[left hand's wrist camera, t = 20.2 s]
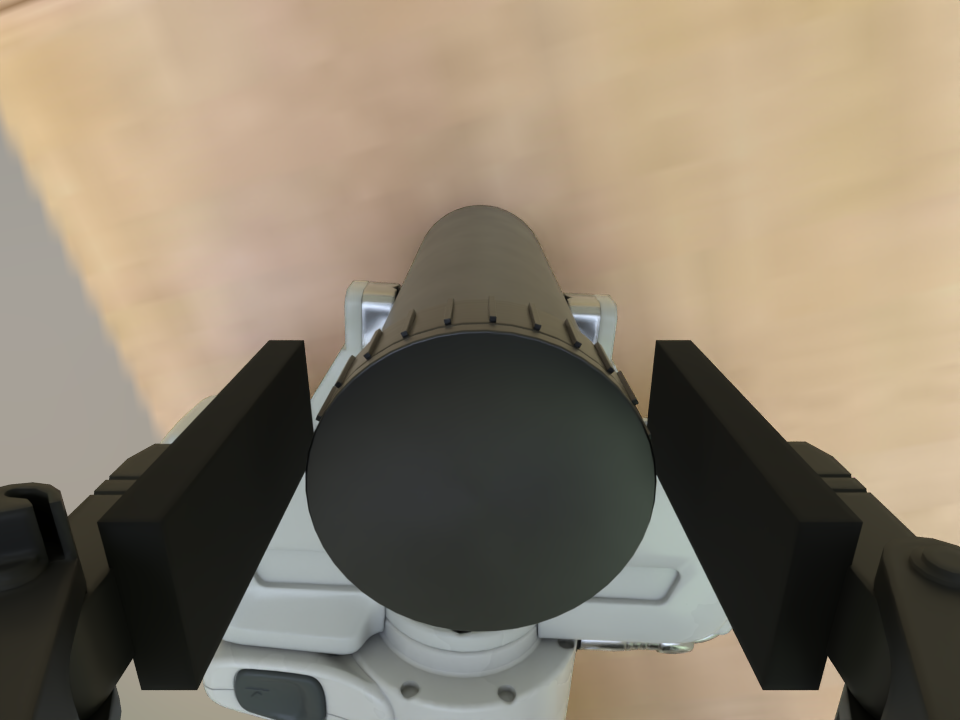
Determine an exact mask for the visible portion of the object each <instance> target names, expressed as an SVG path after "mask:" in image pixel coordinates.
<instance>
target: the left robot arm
mask: <svg viewBox="0 0 960 720" xmlns="http://www.w3.org/2000/svg"><path fill="white" fill-rule="evenodd" d="M647 428H648V430H649V432H650V434H651V437H652V439H651V444H652V449H653V453H654V457H655V464H656V475H657V477H658V479H659V481H660V483H661V485H662V487H663V489H664V491H665V493H666V495H667V497H668V499H669V501H670V503H671V505H672V507H673V509H674V511H675V514H676V516H677V518H678V520H679V522H680V524H681V526H682V528H683V530H684V532H685V534H686V536H687V538H688V540H689V542H690V544H691V546H692V548H693V550H694V552H695V554H696V556H697V558H698V560H699V562H700V564H701V566H702V568H703V570H704V572H705V574H706V576H707V578H708V580H709V582H710V584H711V586H712V588H713V590H714V592H715V594H716V596H717V598H718V600H719V602H720V605H721V607H722V609H723V611H724V613H725V615H726V617H727V619H728V621H729V623H730V625H731V627H732V629H733V631H734V633H735V635H736V637H737V639H738V641H739V643H740V645H741V647H742V649H743V651H744V653H745V655H746V657H747V659H748V661H749V663H750V665H751V667H752V669H753V671H754V673H755V675H756V677H757V679H758V681H759V683H760V685H761V687H762V689H763V690H819V686H820V682H821V679H822V675H823V671H824V667H825V664H826V660H827V656H828V657H829V659H830V660H831V662H832V663H833V665H834V666H835V668H836V669H837V671H838V673H839V674H840V676H841V677H842V679H843V680H844V682H845V685H844V688H843V692H842V695H841V699H840V702H839V706H838V709H837V713H836V716H835V720H960V547H959V546H957V545H954V544H950V543H947V542H943V541H940V540H936V539H933V538H924V537H916V536H915V535H914V534H913V533H912V532H911V531H910V530H909V529H908V528H907V527H906V526H905V525H904V524H903V523H902V522H901V521H899V520H898V519H897V518H896V517H895V516H894V515H893V514H892V513H891V512H890V511H889V510H888V509H887V508H886V507H885V506H884V505H883V504H882V503H881V502H880V501H879V500H878V499H877V498H876V497H874V496H873V495H872V494H871V493H867V491H866V488H865V487H864V486H863V485H862V484H861V483H860V482H859V481H858V480H857V479H856V478H851V474H850V473H849V472H848V471H847V470H846V469H845V468H844V467H843V466H842V465H841V464H840V463H839V462H838V461H837V460H836V459H835V458H834V457H833V456H831V455H829V454H827V453H825V452H823V451H822V450H820V449H818V448H816V447H814V446H812V445H811V444H809V443H807V442H787V441H786V440H785V439H784V438H783V437H782V436H781V435H780V434H779V433H778V432H777V431H776V430H775V429H774V428H773V427H772V425H771V424H770V423H769V422H768V421H767V420H766V419H765V418H764V417H763V416H762V415H761V414H760V413H759V412H758V411H757V410H756V409H755V408H754V407H753V405H752V404H751V403H750V402H749V401H748V400H747V399H746V398H745V397H744V396H743V395H742V394H741V393H740V392H739V391H738V390H737V389H736V388H735V386H734V385H733V384H732V383H731V382H730V381H729V380H728V379H727V378H726V377H725V376H724V375H723V374H722V373H721V372H720V371H719V370H718V369H717V368H716V366H715V365H714V364H713V363H712V362H711V361H710V360H709V359H708V358H707V357H706V356H705V355H704V354H703V353H702V352H701V351H700V350H699V349H698V347H697V346H696V345H695V344H694V343H693V342H692V341H691V340H656V346H655V355H654V364H653V373H652V383H651V392H650V401H649V410H648V420H647ZM313 434H314V429H313V420H312V410H311V401H310V392H309V383H308V373H307V364H306V355H305V346H304V340H269V341H268V342H267V343H266V344H265V345H264V346H263V347H262V349H261V350H260V351H259V352H258V353H257V354H256V355H255V356H254V357H253V358H252V359H251V360H250V361H249V362H248V363H247V364H246V365H245V366H244V368H243V369H242V370H241V371H240V372H239V373H238V374H237V375H236V376H235V377H234V378H233V379H232V380H231V381H230V382H229V383H228V384H227V385H226V386H225V388H224V389H223V390H222V391H221V392H220V393H219V394H218V395H217V396H216V397H215V398H214V399H213V400H212V401H211V402H210V403H209V404H208V405H207V407H206V408H205V409H204V410H203V411H202V412H201V413H200V414H199V415H198V416H197V417H196V418H195V419H194V420H193V421H192V422H191V423H190V424H189V425H188V427H187V428H186V429H185V430H184V431H183V432H182V433H181V434H180V435H179V436H178V437H177V438H176V439H175V440H174V441H173V442H172V443H171V444H154V445H152V446H150V447H148V448H146V449H145V450H143V451H141V452H139V453H137V454H135V455H134V456H132V457H130V458H128V459H127V460H126V461H125V462H124V463H123V464H122V465H121V466H120V467H119V468H118V469H117V470H116V471H114V472H113V473H112V474H111V475H110V476H109V477H110V478H109V480H105V481H104V482H103V483H102V484H101V485H100V486H99V487H98V488H97V489H96V490H95V491H94V495H90V496H89V497H88V498H87V499H86V500H85V501H83V502H82V503H81V504H80V505H79V506H78V507H77V508H76V509H75V510H74V511H73V512H72V513H71V514H70V515H69V516H67V513H66V509H65V506H64V502H63V499H62V495H61V492H60V490H58V489H56V488H55V487H53V486H52V485H49V484H41V483H33V482H32V483H22V484H11V485H7V486H3V487H0V720H120V718H121V706H120V699H119V695H118V692H117V688H116V684H117V682H118V681H119V679H120V678H121V676H122V674H123V673H124V671H125V670H126V668H127V667H128V665H129V664H130V662H131V660H132V659H133V660H134V664H135V667H136V671H137V675H138V679H139V682H140V686H141V690H197V689H198V687H199V685H200V683H201V681H202V679H203V677H204V675H205V673H206V671H207V669H208V667H209V665H210V663H211V661H212V659H213V657H214V655H215V653H216V651H217V649H218V647H219V645H220V643H221V641H222V639H223V637H224V635H225V633H226V631H227V629H228V627H229V625H230V623H231V621H232V619H233V617H234V615H235V613H236V611H237V609H238V607H239V605H240V602H241V600H242V598H243V596H244V594H245V592H246V590H247V588H248V586H249V584H250V582H251V580H252V578H253V576H254V574H255V572H256V570H257V568H258V566H259V564H260V562H261V560H262V558H263V556H264V554H265V552H266V550H267V548H268V546H269V544H270V542H271V540H272V538H273V536H274V534H275V532H276V530H277V528H278V526H279V524H280V522H281V520H282V518H283V516H284V514H285V511H286V509H287V507H288V505H289V503H290V501H291V499H292V497H293V495H294V493H295V491H296V489H297V487H298V485H299V483H300V481H301V479H302V477H303V475H304V473H305V470H306V463H307V453H308V450H309V447H310V444H311V441H312V438H313Z"/></svg>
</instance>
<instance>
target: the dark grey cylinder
mask: <svg viewBox="0 0 960 720" xmlns="http://www.w3.org/2000/svg"><path fill="white" fill-rule="evenodd" d="M489 296H495V300H498V301H508V302H513V303H517V304H522V305H526V306H528V305H529V303H530V302H531V303H534V304H535V305H536V308H537V309H538V310H541V311H544V312H546V313H549V314H551V315H553V316H555V317H557V318H559V319H561V320H562V321H565V320H566V319H567V318H568V319H569V320H571V321H572V323H573V325H574V327H575V329H577V330H578V331H579V332H581V331H580V329H579V327H578V325H577V323H576V321H575V319H574V317H573V314H572V312H571V310H570V308H569V306H568V304H567V302H566V300H565V297H564V295H563V293H562V291H561V289H560V287H559V285H558V283H557V281H556V278H555V276H554V274H553V272H552V270H551V268H550V266H549V264H548V261H547V259H546V257H545V255H544V253H543V251H542V249H541V247H540V244H539V242H538V240H537V238H536V237H535V235H534V234H533V232H532V231H531V230H530V228H529V227H528V226H527V225H526V224H525V223H524V222H523V221H522V220H521V219H519V218H518V217H516V216H515V215H513V214H512V213H510V212H508V211H505V210H503V209H500V208H496V207H492V206H483V205H478V206H469V207H464V208H461V209H458V210H455V211H453V212H451V213H449V214H447V215H446V216H444V217H443V218H441V219H440V220H439V221H438V222H437V223H436V224H434V226H433V227H432V228H431V229H430V230H429V232H428V233H427V235H426V236H425V238H424V240H423V242H422V244H421V246H420V248H419V250H418V252H417V255H416V257H415V259H414V261H413V263H412V265H411V268H410V270H409V272H408V274H407V276H406V278H405V280H404V283H403V285H402V287H401V289H400V291H399V293H398V295H397V298H396V300H395V302H394V304H393V306H392V308H391V310H390V313H389V315H388V317H387V319H386V321H385V323H384V326H383V328H382V330H381V331H383V330H385V329H386V328H388V327H389V326H391V325H393V324H394V323H396V322H397V321H399V320H401V319H402V318H404V317H407V314H408V311H410V310H412V309H414V310H415V312H418V311H420V310H422V309H426V308H429V307H433V306H436V305H440V304H443V303H447V299H448V298H454V302H455V301H462V300H482V299H489Z"/></svg>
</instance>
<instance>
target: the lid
mask: <svg viewBox="0 0 960 720" xmlns="http://www.w3.org/2000/svg"><path fill="white" fill-rule="evenodd" d="M335 386H336V387H335ZM637 404H638V401H637V399H636V397H635V395H634V394H633V392H632V390H631V388H630V386H629V385H628V383H627V381H626V379H625V377H624V376H623V374H622V372H621V371H619V372H617V373H616V371H615V370H614V368H613V366H612V364H611V362H610V360H609V358H608V356H607V355H606V353H605V351H604V349H603V347H602V345H601V344H600V343H599V342H597V343H596V344H593V343H592V342H591V341H590V340H589V339H588V338H587V337H586V336H585V335H584V334H582V333H581V332H579V331H578V330H577V329H575V327H574V325H573V323H572V321H571V320H569V319H568V318H567V319H566V320H565V321H562V320H561V319H559V318H557V317H555V316H553V315H551V314H549V313H546V312H544V311H541V310H538V309H537V308H536V305H535V304H534V303H531V302H530V303H529V305H528V306H526V305H522V304H517V303H513V302H508V301H498V300H495V296H489V299H482V300H462V301H455V302H454V298H448V299H447V303H443V304H440V305H436V306H433V307H429V308H426V309H422V310H420V311H418V312H415V310H414V309H412V310H410V311H408V314H407V317H404V318H402V319H401V320H399V321H397V322H396V323H394V324H393V325H391V326H389V327H388V328H386V329H385V330H383V331H381V330H380V329H378V330H376V331H375V333H374V335H373V337H372V339H371V341H370V342H369V343H368V344H367V345H366V346H365V347H364V348H363V349H362V350H361V352H360V353H359V354H358V355H357V356H356V357H355V356H353V355H351V356H350V358H349V359H348V361H347V363H346V365H345V366H344V368H343V370H342V372H341V374H340V376H339V377H338V379H337V381H336V383H335V385H334V386H333V387H332V389H331V391H330V393H329V394H328V396H327V398H326V400H325V402H324V404H323V405H322V407H321V409H320V411H319V413H318V415H317V417H316V420H317V421H319V423H318V425H317V427H316V429H315V431H314V434H313V438H312V441H311V444H310V447H309V450H308V453H307V463H306V470H305V491H306V498H307V504H308V510H309V513H310V517H311V520H312V523H313V526H314V529H315V532H316V534H317V536H318V538H319V540H320V542H321V544H322V546H323V548H324V549H325V551H326V553H327V554H328V556H329V557H330V559H331V560H332V562H333V563H334V564H335V566H336V567H337V568H338V569H339V570H340V571H341V572H342V574H343V575H344V576H345V577H346V578H347V579H348V580H349V581H350V582H351V583H352V584H353V585H355V586H356V587H357V588H358V589H359V590H360V591H361V592H363V593H364V594H365V595H367V596H368V597H370V598H371V599H373V600H374V601H375V602H377V603H378V604H380V605H382V606H384V607H386V608H388V609H389V610H391V611H393V612H395V613H397V614H400V615H402V616H404V617H407V618H409V619H412V620H414V621H417V622H421V623H424V624H428V625H431V626H435V627H440V628H446V629H451V630H460V631H473V632H484V631H502V630H510V629H517V628H521V627H526V626H530V625H534V624H538V623H541V622H544V621H547V620H550V619H552V618H555V617H558V616H560V615H562V614H564V613H566V612H568V611H570V610H572V609H575V608H576V607H578V606H579V605H581V604H583V603H584V602H586V601H588V600H589V599H591V598H592V597H594V596H595V595H596V594H597V593H599V592H600V591H601V590H602V589H604V588H605V587H606V586H607V585H608V584H609V583H610V582H611V581H612V580H613V579H614V578H615V577H616V576H617V575H618V574H619V573H620V572H621V571H622V570H623V569H624V567H625V566H626V565H627V563H628V562H629V561H630V560H631V558H632V557H633V556H634V554H635V552H636V550H637V549H638V547H639V545H640V543H641V542H642V540H643V538H644V535H645V533H646V530H647V528H648V525H649V523H650V520H651V516H652V512H653V507H654V503H655V496H656V484H657V478H656V464H655V457H654V453H653V449H652V444H651V439H652V437H651V434H650V432H649V430H648V428H647V426H646V424H645V422H644V421H643V419H642V417H641V415H640V413H639V411H638V409H637V408H636V406H635V405H637Z"/></svg>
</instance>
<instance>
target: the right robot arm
mask: <svg viewBox="0 0 960 720" xmlns="http://www.w3.org/2000/svg"><path fill="white" fill-rule="evenodd" d="M400 289H401V286H400V284H396V283H382V282H369V281H353V282H352V283H351V285H350V286H349V287H348V289H347V292H346V298H345V344H344V346H343V347H342V349H341V351H340V352H339V354H338V356H337V357H336V359H335V361H334V362H333V364H332V366H331V367H330V369H329V371H328V372H327V374H326V376H325V377H324V379H323V380H322V382H321V384H320V385H319V387H318V389H317V390H316V392H315V394H314V395H313V397H312V399H311V400H310V401H311V410H312V420H313V429H314V431H315V429H316V427H317V425H318V423H319V421H317V420H316V417H317V415H318V413H319V411H320V409H321V407H322V405H323V404H324V402H325V400H326V398H327V396H328V394H329V393H330V391H331V389H332V387H333V386H334V385H335V383H336V381H337V379H338V377H339V376H340V374H341V372H342V370H343V368H344V366H345V365H346V363H347V361H348V359H349V358H350V356H351V355H353V356H355V357H356V356H357V355H358V354H359V353H360V352H361V350H362V349H363V348H364V347H365V346H366V345H367V344H368V343H369V342H370V341H371V339H372V337H373V335H374V333H375V331H376V330H378V329H380V330H382V328H383V326H384V323H385V321H386V319H387V317H388V315H389V313H390V310H391V308H392V306H393V304H394V302H395V300H396V298H397V295H398V293H399V291H400ZM563 295H564V297H565V300H566V302H567V304H568V306H569V308H570V310H571V312H572V314H573V317H574V319H575V321H576V323H577V325H578V327H579V329H580V331H581V333H582V334H584V335H585V336H586V337H587V338H588V339H589V340H590V341H591V342H592V343H593V344H596V343H597V342H599V343H600V344H601V345H602V347H603V349H604V351H605V353H606V355H607V356H608V358H609V360H610V362H611V364H612V366H613V368H614V370H615V371H616V373H617V372H618V370H617V368H616V366H615V364H614V362H613V360H612V353H613V346H614V339H615V332H616V325H617V306H616V303H615V302H614V301H613V299H612V298H611V297H610V295H597V294H578V293H564V294H563ZM335 387H336V386H335ZM216 396H217V395H215V396H209V397H207V398H205V399H203V400H202V401H201V402H199V403H198V404H197V405H196V406H195V407H194V408H193V409H192V410H191V411H189V412H188V413H187V414H186V415H185V416H184V417H183V418H182V419H180V420H179V421H178V423H177V424H176V425H175V426H174V427H173V428H172V429H171V430H170V431H169V433H168V434H167V435H166V436H165V438H164V439H163V440H162V442H161V443H160V444H171V443H172V442H173V441H174V440H175V439H176V438H177V437H178V436H179V435H180V434H181V433H182V432H183V431H184V430H185V429H186V428H187V427H188V425H189V424H190V423H191V422H192V421H193V420H194V419H195V418H196V417H197V416H198V415H199V414H200V413H201V412H202V411H203V410H204V409H205V408H206V407H207V405H208V404H209V403H210V402H211V401H212V400H213V399H214V398H215V397H216ZM642 419H643V421H644V422H645V424H646V426H647V420H648V418H642ZM656 478H657V484H656V496H655V503H654V507H653V512H652V516H651V520H650V523H649V525H648V528H647V530H646V533H645V535H644V538H643V540H642V542H641V543H640V545H639V547H638V549H637V550H636V552H635V554H634V556H633V557H632V558H631V560H630V561H629V562H628V563H627V565H626V566H625V567H624V569H623V570H622V571H621V572H620V573H619V574H618V575H617V576H616V577H615V578H614V579H613V580H612V581H611V582H610V583H609V584H608V585H607V586H606V587H605V588H604V589H602V590H601V591H600V592H599V593H597V594H596V595H595V596H594V597H592V598H591V599H589V600H588V601H586V602H584V603H583V604H581V605H579V606H578V607H576V608H575V609H572V610H570V611H568V612H566V613H564V614H562V615H560V616H558V617H555V618H552V619H550V620H547V621H544V622H541V623H538V624H534V625H530V626H526V627H521V628H517V629H510V630H502V631H484V632H473V631H460V630H451V629H446V628H440V627H435V626H431V625H428V624H424V623H421V622H417V621H414V620H412V619H409V618H407V617H404V616H402V615H400V614H397V613H395V612H393V611H391V610H389V609H388V608H386V607H384V606H382V605H380V604H378V603H377V602H375V601H374V600H373V599H371V598H370V597H368V596H367V595H365V594H364V593H363V592H361V591H360V590H359V589H358V588H357V587H356V586H355V585H353V584H352V583H351V582H350V581H349V580H348V579H347V578H346V577H345V576H344V575H343V574H342V572H341V571H340V570H339V569H338V568H337V567H336V566H335V564H334V563H333V562H332V560H331V559H330V557H329V556H328V554H327V553H326V551H325V549H324V548H323V546H322V544H321V542H320V540H319V538H318V536H317V534H316V532H315V529H314V526H313V523H312V520H311V517H310V513H309V510H308V504H307V498H306V491H305V473H304V475H303V477H302V479H301V481H300V483H299V485H298V487H297V489H296V491H295V493H294V495H293V497H292V499H291V501H290V503H289V505H288V507H287V509H286V511H285V514H284V516H283V518H282V520H281V522H280V524H279V526H278V528H277V530H276V532H275V534H274V536H273V538H272V540H271V542H270V544H269V546H268V548H267V550H266V552H265V554H264V556H263V558H262V560H261V562H260V564H259V566H258V568H257V570H256V572H255V574H254V576H253V578H252V580H251V582H250V584H249V586H248V588H247V590H246V592H245V594H244V596H243V598H242V600H241V602H240V605H239V607H238V609H237V611H236V613H235V615H234V617H233V619H232V621H231V623H230V625H229V627H228V629H227V631H226V633H225V635H224V637H223V639H222V641H221V643H220V645H219V647H218V649H217V651H216V653H215V655H214V657H213V659H212V661H211V663H210V665H209V667H208V669H207V671H206V673H205V675H204V677H203V684H204V688H205V691H206V693H207V695H208V697H209V698H210V699H211V700H212V701H214V702H215V703H217V704H218V705H220V706H223V707H225V708H228V709H231V710H235V711H238V712H242V713H245V714H249V715H253V716H256V717H260V718H263V719H267V720H566V714H567V707H568V700H569V694H570V687H571V679H572V673H573V667H574V660H575V654H576V651H577V649H579V650H596V651H624V650H625V651H629V650H638V649H639V650H645V649H646V650H656V651H657V652H659V653H665V654H680V653H686V652H691V651H692V650H693V647H694V644H695V643H702V642H705V641H708V640H711V639H713V638H715V637H717V636H719V635H724V634H727V633H729V632H730V631H731V629H732V627H731V625H730V623H729V621H728V619H727V617H726V615H725V613H724V611H723V609H722V607H721V605H720V602H719V600H718V598H717V596H716V594H715V592H714V590H713V588H712V586H711V584H710V582H709V580H708V578H707V576H706V574H705V572H704V570H703V568H702V566H701V564H700V562H699V560H698V558H697V556H696V554H695V552H694V550H693V548H692V546H691V544H690V542H689V540H688V538H687V536H686V534H685V532H684V530H683V528H682V526H681V524H680V522H679V520H678V518H677V516H676V514H675V511H674V509H673V507H672V505H671V503H670V501H669V499H668V497H667V495H666V493H665V491H664V489H663V487H662V485H661V483H660V481H659V479H658V477H657V475H656Z"/></svg>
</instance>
